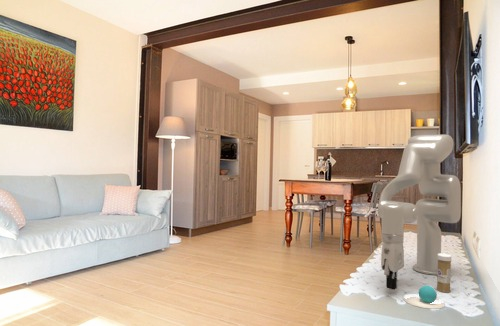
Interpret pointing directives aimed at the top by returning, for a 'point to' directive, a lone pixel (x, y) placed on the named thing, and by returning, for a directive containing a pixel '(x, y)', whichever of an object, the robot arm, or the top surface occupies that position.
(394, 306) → the top surface
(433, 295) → the ball
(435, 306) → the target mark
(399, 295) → the top surface
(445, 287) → the sprinkles bottle
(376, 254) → the top surface
